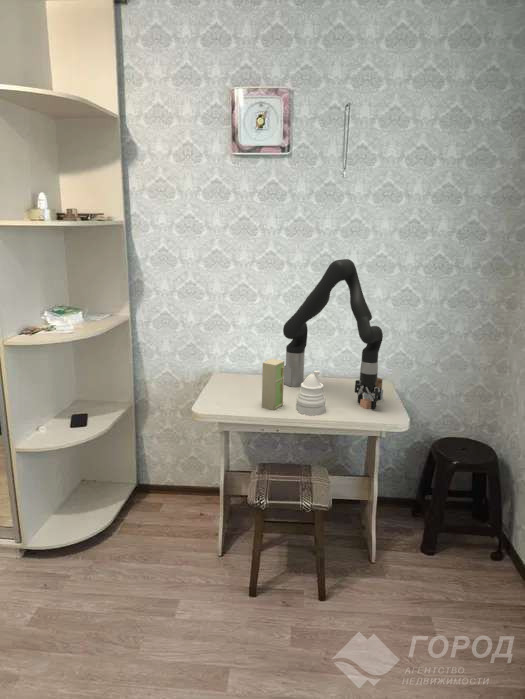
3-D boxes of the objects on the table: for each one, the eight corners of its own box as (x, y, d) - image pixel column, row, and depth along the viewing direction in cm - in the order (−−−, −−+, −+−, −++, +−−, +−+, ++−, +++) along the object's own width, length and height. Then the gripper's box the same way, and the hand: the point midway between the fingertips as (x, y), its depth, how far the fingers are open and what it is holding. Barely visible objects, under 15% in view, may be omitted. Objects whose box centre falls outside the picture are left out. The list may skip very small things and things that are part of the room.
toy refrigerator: (275, 410, 233) (276, 365, 228) (261, 407, 237) (262, 362, 231) (284, 405, 240) (285, 360, 234) (270, 402, 243) (271, 358, 238)
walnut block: (373, 391, 243) (374, 380, 242) (366, 388, 247) (367, 377, 246) (381, 389, 246) (382, 379, 245) (374, 386, 250) (374, 376, 249)
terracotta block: (365, 410, 235) (366, 402, 234) (359, 407, 238) (360, 399, 237) (372, 409, 237) (373, 400, 236) (366, 406, 241) (367, 398, 240)
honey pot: (323, 405, 241) (325, 367, 236) (326, 415, 229) (328, 376, 224) (295, 404, 241) (296, 366, 236) (297, 415, 228) (298, 375, 224)
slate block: (373, 402, 244) (373, 391, 242) (363, 398, 249) (364, 388, 247) (382, 399, 247) (383, 389, 246) (373, 396, 252) (374, 386, 251)
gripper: (351, 368, 237) (349, 402, 241) (374, 376, 226) (371, 412, 230) (364, 365, 241) (361, 399, 245) (386, 374, 230) (384, 409, 234)
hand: (366, 405), depth 237 cm, fingers open, 8 cm apart
